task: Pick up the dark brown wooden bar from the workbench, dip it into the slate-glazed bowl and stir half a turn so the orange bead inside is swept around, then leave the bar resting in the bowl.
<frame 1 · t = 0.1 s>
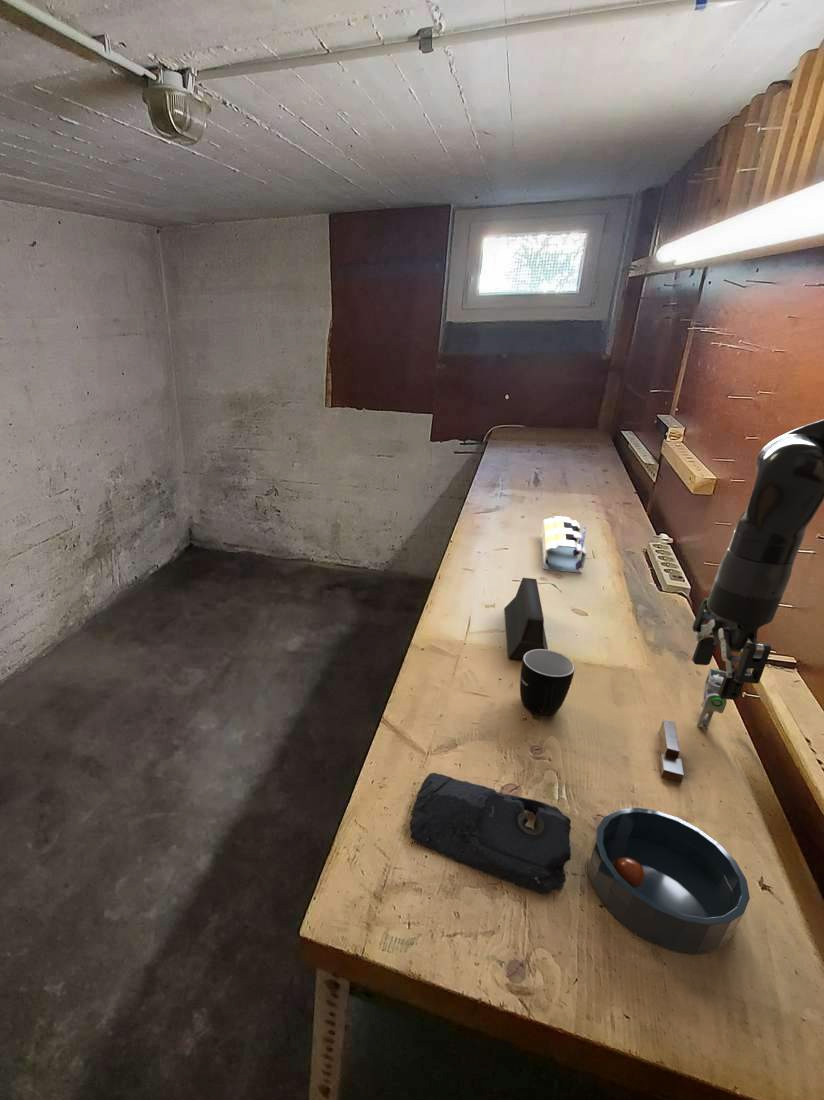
hand: (712, 679, 84), 20 cm above the table, tool pointing down, fingers open, 8 cm apart
barrier: (525, 634, 132), on the table
bead: (628, 872, 75), point 3 cm above the table, touching bowl
bowl: (656, 889, 75), on the table
dark slate chunk: (487, 830, 85), on the table
dark brown wooden bar: (667, 755, 97), on the table
mechanical component: (701, 727, 103), on the table
mug: (539, 710, 108), on the table
diorama: (559, 554, 172), on the table
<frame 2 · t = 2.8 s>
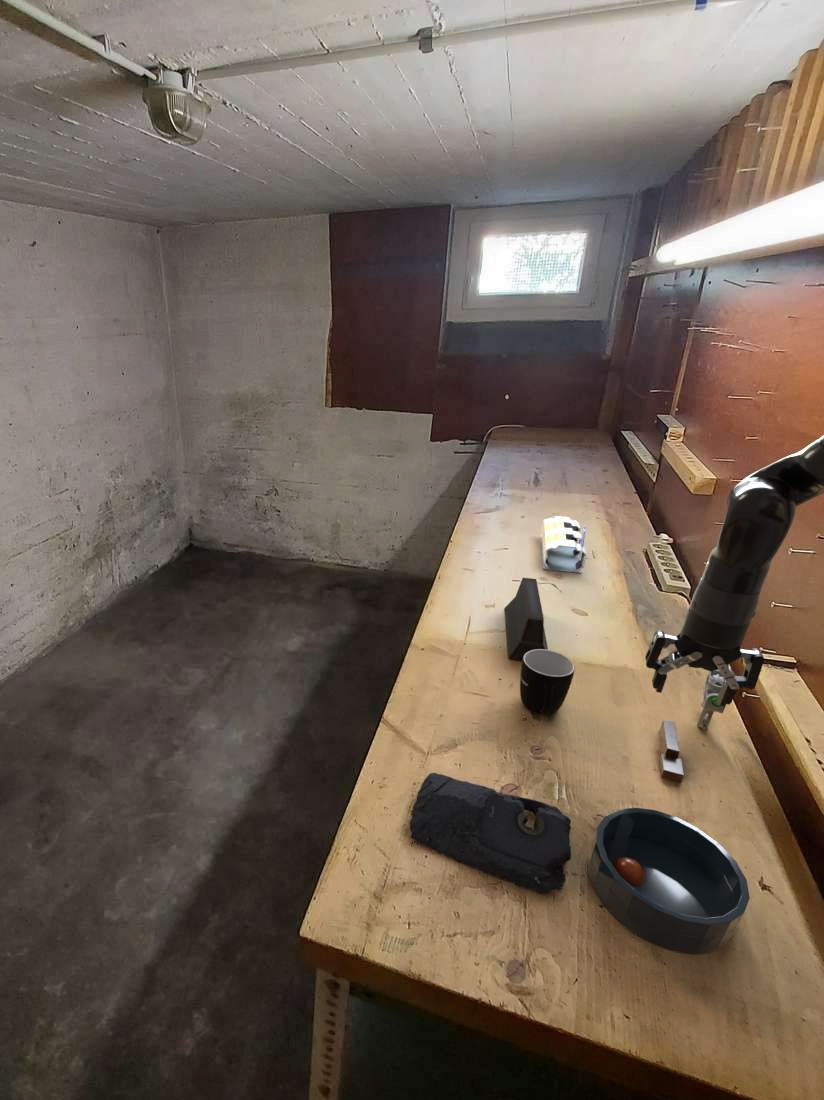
hand: (688, 696, 91), 13 cm above the table, tool pointing down, fingers open, 8 cm apart
nothing on the table moved.
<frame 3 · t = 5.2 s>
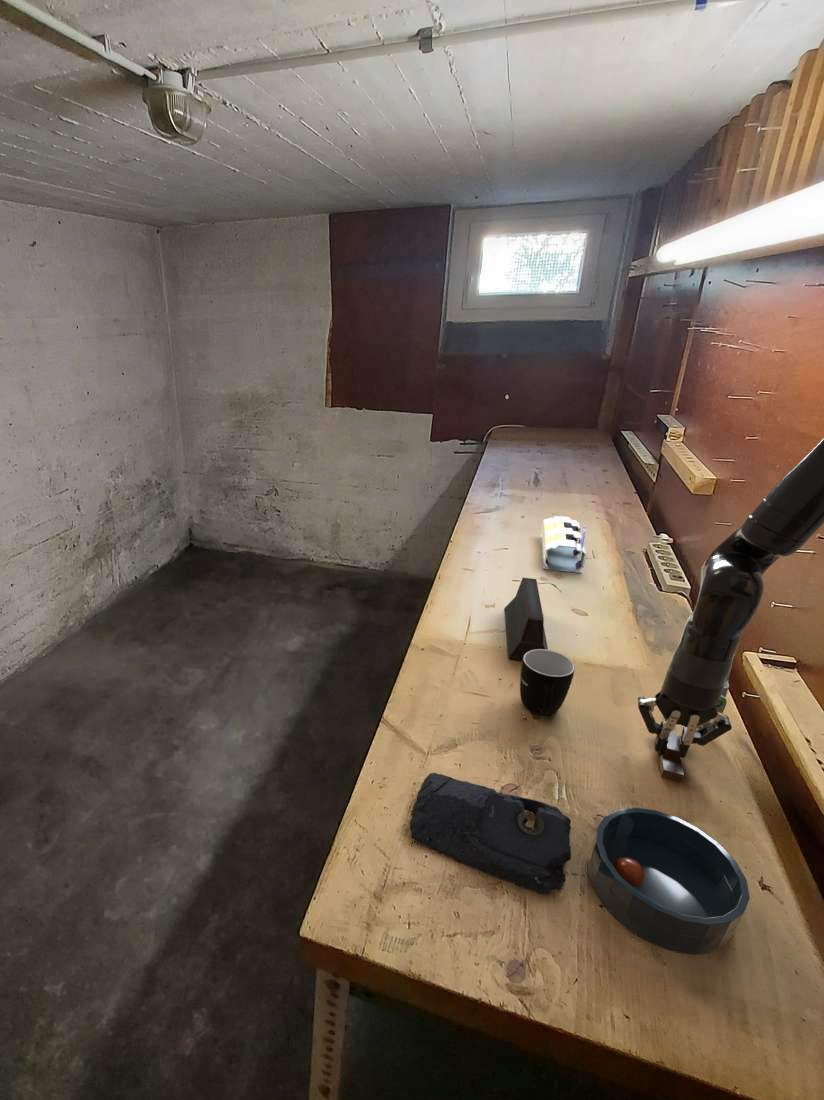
hand: (667, 754, 97), 0 cm above the table, tool pointing down, fingers closed on dark brown wooden bar, 2 cm apart
dark brown wooden bar: (667, 755, 97), on the table, touching gripper
everything else where it was.
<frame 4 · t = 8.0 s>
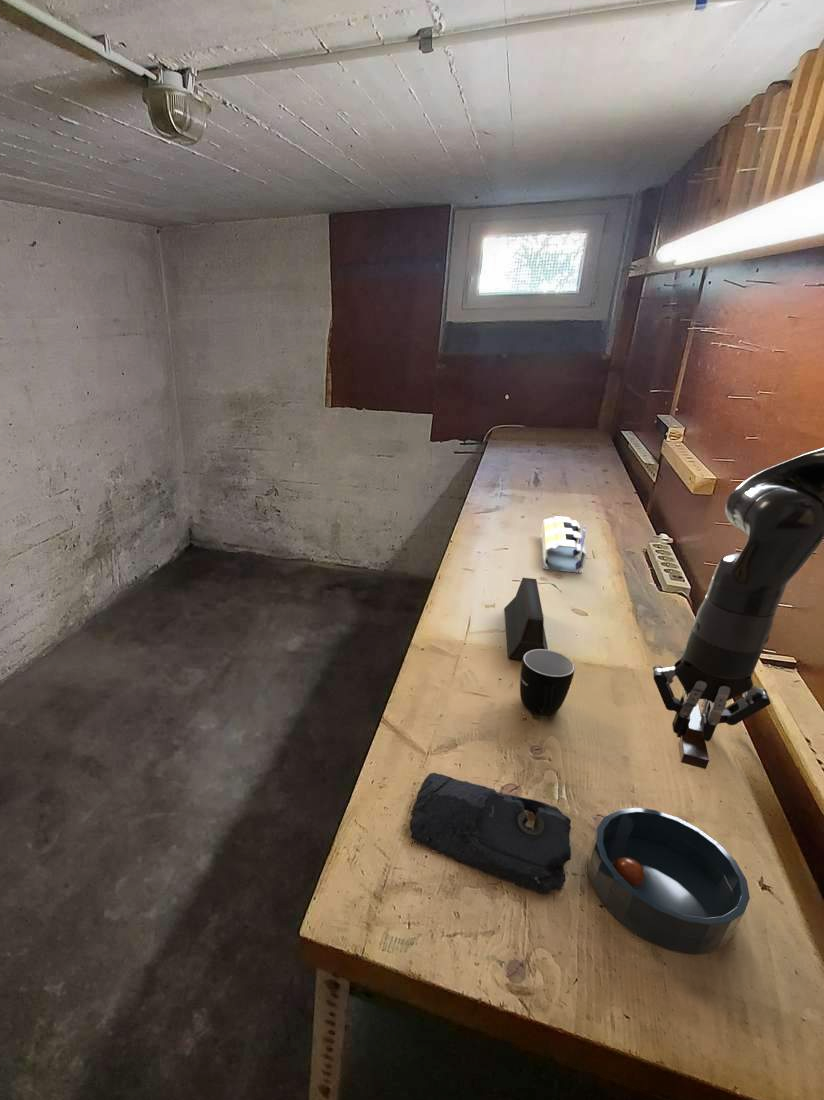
hand: (688, 736, 80), 15 cm above the table, tool pointing down, fingers closed on dark brown wooden bar
dark brown wooden bar: (688, 737, 80), point 15 cm above the table, touching gripper
everything else where it was.
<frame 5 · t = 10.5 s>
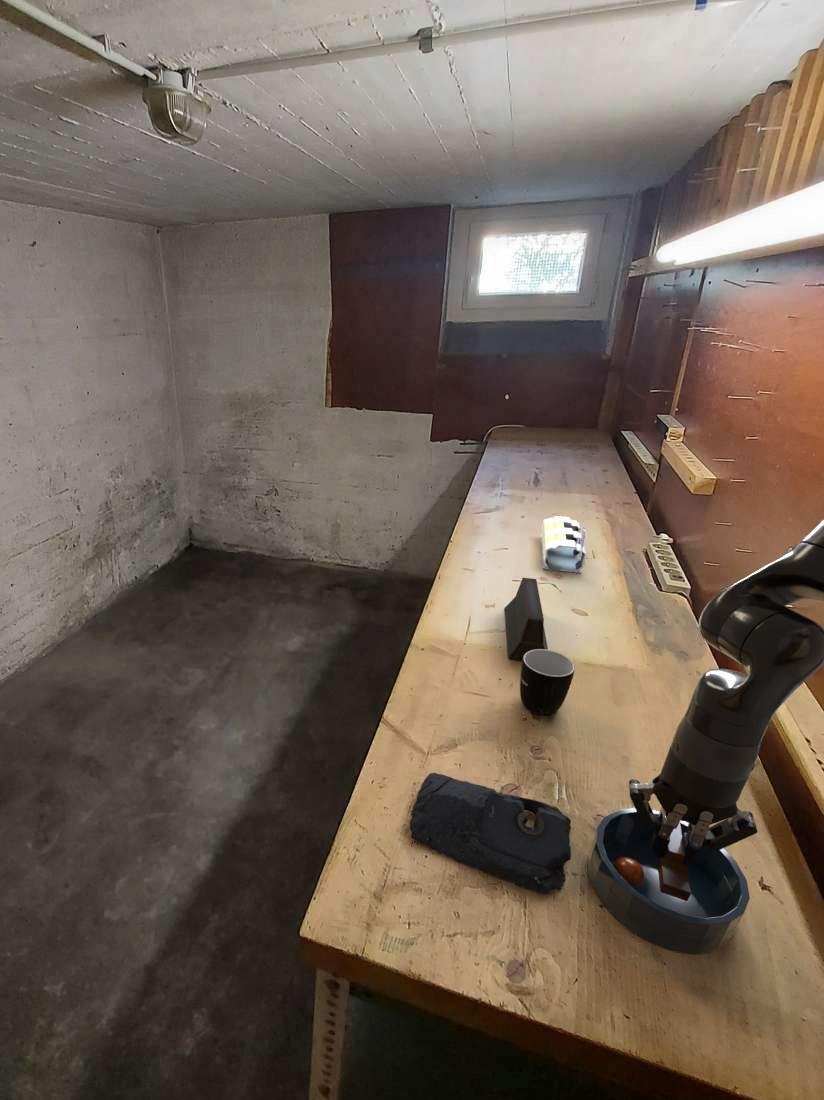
hand: (669, 855, 72), 7 cm above the table, tool pointing down, fingers closed on dark brown wooden bar
dark brown wooden bar: (668, 856, 72), point 6 cm above the table, touching gripper
everything else where it was.
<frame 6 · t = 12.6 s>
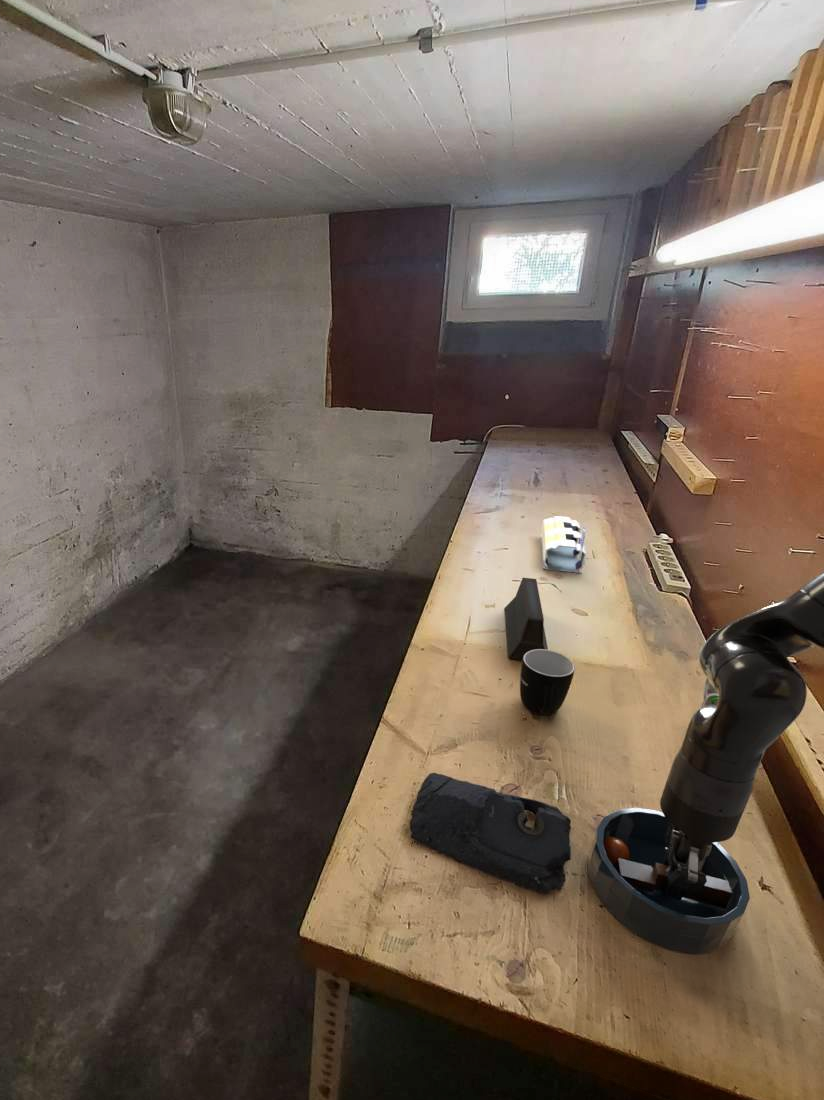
hand: (669, 886, 73), 2 cm above the table, tool pointing down, fingers closed on dark brown wooden bar, 2 cm apart
bead: (614, 851, 78), point 3 cm above the table, tilted 71°, touching bowl, dark brown wooden bar
dark brown wooden bar: (668, 888, 73), point 2 cm above the table, touching bead, gripper
everything else where it was.
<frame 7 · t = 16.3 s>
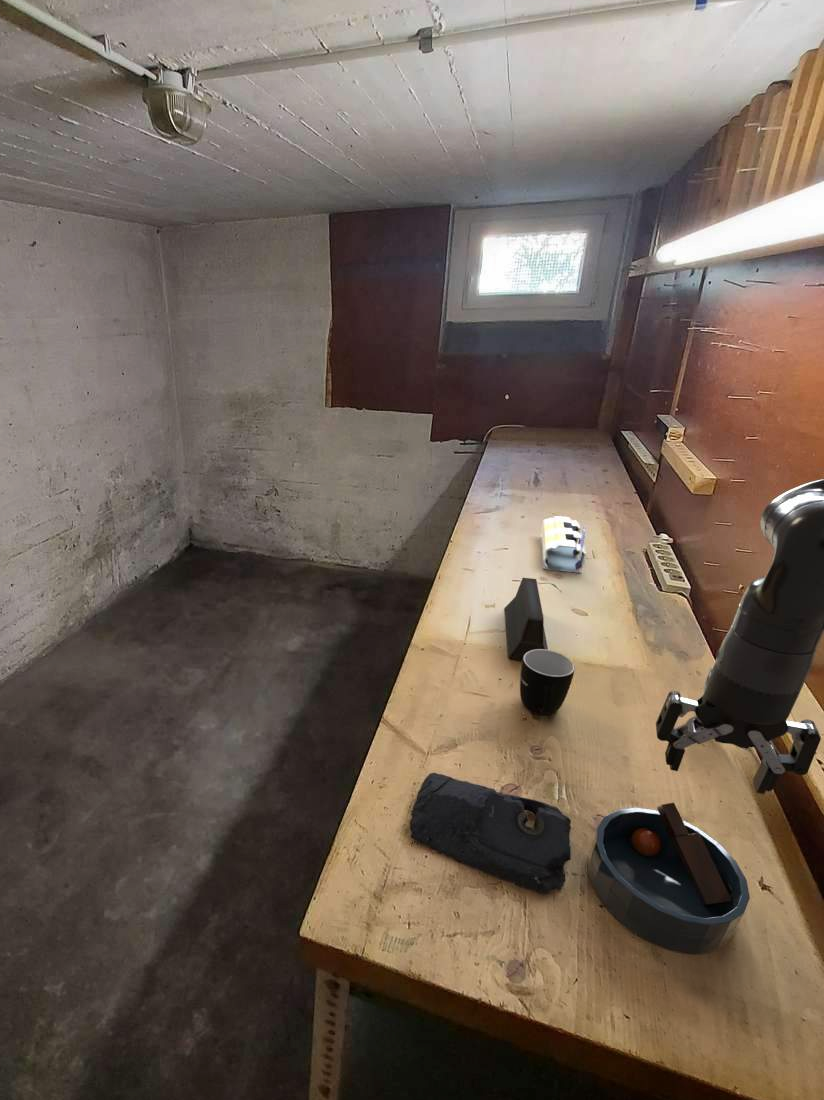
hand: (714, 777, 68), 19 cm above the table, tool pointing down, fingers open, 8 cm apart
bead: (646, 841, 79), point 3 cm above the table, tilted 50°, touching bowl
dark brown wooden bar: (680, 853, 75), point 5 cm above the table, tilted 73°, touching bowl
everything else where it was.
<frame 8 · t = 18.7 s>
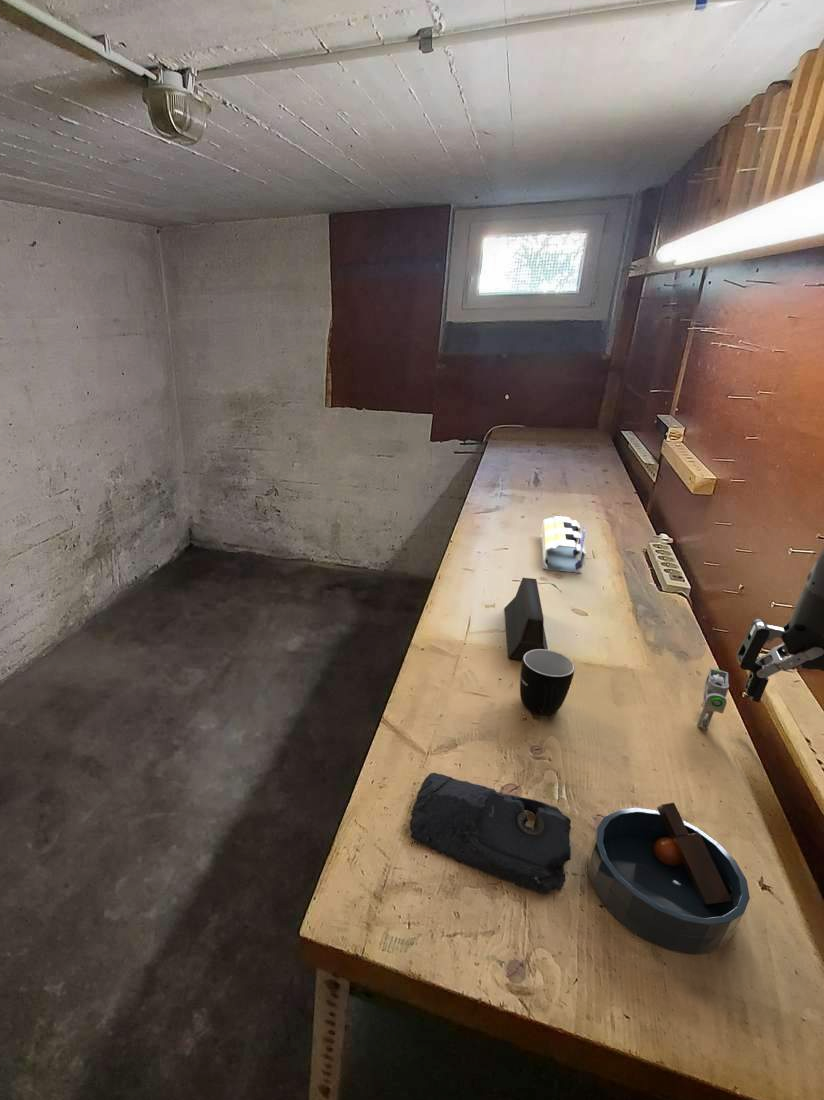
hand: (796, 707, 68), 26 cm above the table, tool pointing down, fingers open, 8 cm apart
bead: (668, 851, 77), point 3 cm above the table, tilted 86°, touching bowl, dark brown wooden bar
dark brown wooden bar: (680, 853, 75), point 5 cm above the table, tilted 73°, touching bead, bowl
everything else where it was.
at the end: dark brown wooden bar inside the target area in the bowl (3.7 cm from its centre), point 4.6 cm above the bowl's base; bead moved 7.8 cm from its start; bead inside the target area in the bowl (4.9 cm from its centre), point 2.6 cm above the bowl's base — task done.
